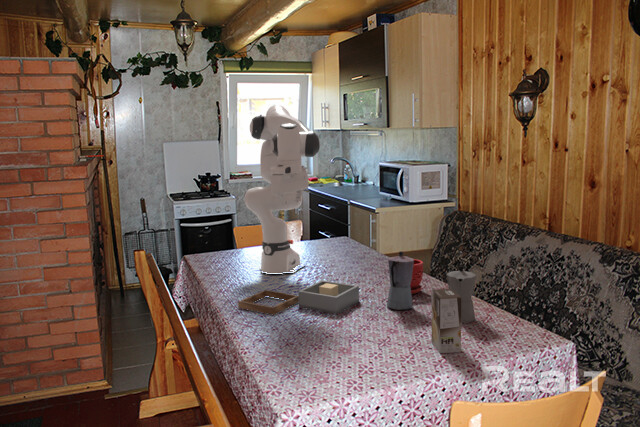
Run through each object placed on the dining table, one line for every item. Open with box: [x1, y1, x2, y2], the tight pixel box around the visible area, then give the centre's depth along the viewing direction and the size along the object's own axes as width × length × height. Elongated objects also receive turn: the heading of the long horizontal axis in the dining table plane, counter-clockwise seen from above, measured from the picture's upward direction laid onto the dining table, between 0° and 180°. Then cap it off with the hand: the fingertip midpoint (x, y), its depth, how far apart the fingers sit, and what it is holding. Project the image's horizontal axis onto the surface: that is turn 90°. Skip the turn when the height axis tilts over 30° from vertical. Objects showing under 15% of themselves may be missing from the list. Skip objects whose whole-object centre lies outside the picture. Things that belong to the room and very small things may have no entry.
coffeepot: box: [446, 265, 477, 324], centre depth 178 cm, size 15×9×18 cm, turn 162°
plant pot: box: [410, 258, 424, 295], centre depth 209 cm, size 13×13×12 cm
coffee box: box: [431, 288, 462, 354], centre depth 154 cm, size 9×6×16 cm
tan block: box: [319, 283, 338, 296], centre depth 196 cm, size 5×5×6 cm
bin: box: [297, 280, 360, 315], centre depth 196 cm, size 16×16×6 cm
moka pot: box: [386, 251, 414, 311], centre depth 190 cm, size 10×15×20 cm, turn 155°
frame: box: [237, 289, 299, 316], centre depth 197 cm, size 16×16×2 cm
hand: (291, 203), depth 205 cm, fingers open, 8 cm apart
